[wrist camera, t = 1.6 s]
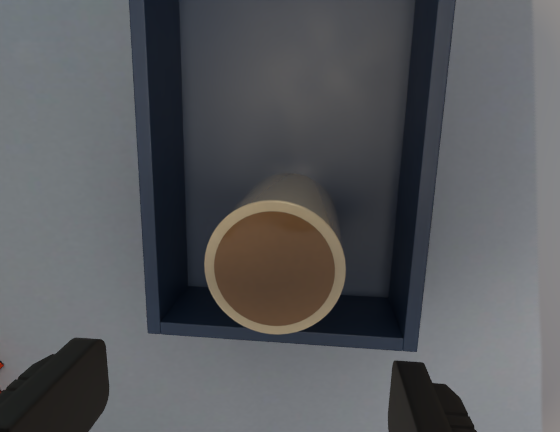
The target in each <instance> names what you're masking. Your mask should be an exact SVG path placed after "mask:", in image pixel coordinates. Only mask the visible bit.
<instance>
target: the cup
mask: <svg viewBox="0 0 560 432" xmlns="http://www.w3.org/2000/svg"><path fill="white" fill-rule="evenodd" d="M204 269H205V277H206V281H207V284H208V287H209V290H210V292H211V294H212V296H213V298H214V300H215V301H216V303H217V304H218V305H219V307H220V308H221V309H222V310H223V311H224V312H225V313H226V314H227V315H228V316H229V317H230V318H232V319H233V320H234V321H236V322H237V323H239V324H241V325H242V326H244V327H246V328H249V329H251V330H254V331H257V332H261V333H267V334H289V333H294V332H298V331H301V330H304V329H306V328H308V327H310V326H312V325H314V324H316V323H317V322H319V321H320V320H321V319H323V318H324V317H325V316H326V315H327V314H328V313H329V312H330V311H331V310H332V309H333V307H334V306H335V304H336V303H337V301H338V299H339V297H340V295H341V293H342V290H343V287H344V283H345V277H346V263H345V255H344V249H343V243H342V238H341V232H340V226H339V220H338V214H337V210H336V207H335V204H334V202H333V200H332V198H331V196H330V195H329V193H328V192H327V191H326V190H325V189H324V188H323V187H322V186H321V185H320V184H319V183H317V182H316V181H314V180H312V179H311V178H308V177H306V176H303V175H300V174H294V173H282V174H276V175H272V176H270V177H267V178H265V179H263V180H262V181H260V182H259V183H257V184H256V185H255V186H254V187H253V188H252V189H251V190H250V191H249V192H248V193H247V194H246V195H245V196H244V197H243V198H242V200H241V201H240V202H239V203H238V204H237V205H236V206H235V207H234V208H233V209H232V210H231V211H230V212H229V214H228V215H227V216H226V217H225V218H224V219H223V220H222V221H221V222H220V223H219V225H218V226H217V227H216V229H215V230H214V232H213V233H212V235H211V237H210V239H209V242H208V244H207V248H206V252H205V260H204Z"/></svg>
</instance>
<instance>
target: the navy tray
mask: <svg viewBox="0 0 560 432" xmlns="http://www.w3.org/2000/svg"><path fill="white" fill-rule="evenodd" d="M455 2H456V0H129V11H130V28H131V46H132V63H133V81H134V99H135V116H136V134H137V151H138V169H139V187H140V204H141V222H142V239H143V257H144V275H145V292H146V310H147V327H148V333H152V334H165V335H180V336H194V337H208V338H223V339H237V340H252V341H266V342H280V343H295V344H309V345H323V346H338V347H352V348H367V349H381V350H395V351H402V350H403V351H410V352H417V346H418V337H419V328H420V319H421V310H422V301H423V292H424V283H425V274H426V265H427V256H428V247H429V238H430V229H431V219H432V210H433V201H434V192H435V183H436V174H437V165H438V156H439V147H440V138H441V129H442V120H443V111H444V102H445V93H446V84H447V74H448V65H449V56H450V47H451V38H452V29H453V20H454V11H455ZM282 173H294V174H300V175H303V176H306V177H308V178H311V179H312V180H314V181H316V182H317V183H319V184H320V185H321V186H322V187H323V188H324V189H325V190H326V191H327V192H328V193H329V195H330V196H331V198H332V200H333V202H334V204H335V207H336V210H337V214H338V220H339V226H340V232H341V238H342V243H343V249H344V255H345V263H346V277H345V283H344V287H343V290H342V293H341V295H340V297H339V299H338V301H337V303H336V304H335V306H334V307H333V309H332V310H331V311H330V312H329V313H328V314H327V315H326V316H325V317H324V318H323V319H321V320H320V321H319V322H317V323H316V324H314V325H312V326H310V327H308V328H306V329H304V330H301V331H298V332H294V333H289V334H267V333H261V332H257V331H254V330H251V329H249V328H246V327H244V326H242V325H241V324H239V323H237V322H236V321H234V320H233V319H232V318H230V317H229V316H228V315H227V314H226V313H225V312H224V311H223V310H222V309H221V308H220V307H219V305H218V304H217V303H216V301H215V300H214V298H213V296H212V294H211V292H210V290H209V287H208V284H207V281H206V277H205V269H204V260H205V252H206V248H207V244H208V242H209V239H210V237H211V235H212V233H213V232H214V230H215V229H216V227H217V226H218V225H219V223H220V222H221V221H222V220H223V219H224V218H225V217H226V216H227V215H228V214H229V212H230V211H231V210H232V209H233V208H234V207H235V206H236V205H237V204H238V203H239V202H240V201H241V200H242V198H243V197H244V196H245V195H246V194H247V193H248V192H249V191H250V190H251V189H252V188H253V187H254V186H255V185H256V184H257V183H259V182H260V181H262V180H263V179H265V178H267V177H270V176H272V175H276V174H282Z"/></svg>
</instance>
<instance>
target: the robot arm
mask: <svg viewBox="0 0 560 432" xmlns="http://www.w3.org/2000/svg"><path fill="white" fill-rule="evenodd" d="M108 396H109V379H108V367H107V355H106V346H105V343H104V341H103V340H101V339H89V338H73V339H72V340H70V341H69V342H68V343H67V344H66V345H65V346H64V347H63V348H62V349H60V350H59V351H58V352H57V353H56V354H52V355H50V356H48V357H46V358H44V359H42V360H40V361H39V362H37V363H35V364H33V365H32V366H31V367H29V368H28V369H27V370H26V371H25V372H24V373H22V374H21V375H20V376H19V377H18V380H14V381H13V382H12V383H11V384H10V385H9V386H8V387H7V388H6V390H3V391H2V392H1V393H0V432H88V431H89V430H90V429H91V427H92V426H93V425H94V423H95V422H96V420H97V419H98V418H99V416H100V415H101V414H102V412H103V411H104V409H105V406H106V404H107V401H108ZM388 429H389V432H477V431H476V430H475V429H474V425H473V423H472V421H471V419H470V417H468V413H467V411H466V409H465V407H464V405H463V403H462V401H461V399H460V397H459V396H458V395H456V394H455V393H454V392H453V391H452V390H451V389H450V388H449V387H448V386H447V385H446V384H437V383H432V381H431V379H430V376H429V374H428V372H427V369H426V367H425V365H424V363H422V362H408V361H394V362H393V367H392V376H391V387H390V398H389V408H388Z"/></svg>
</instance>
